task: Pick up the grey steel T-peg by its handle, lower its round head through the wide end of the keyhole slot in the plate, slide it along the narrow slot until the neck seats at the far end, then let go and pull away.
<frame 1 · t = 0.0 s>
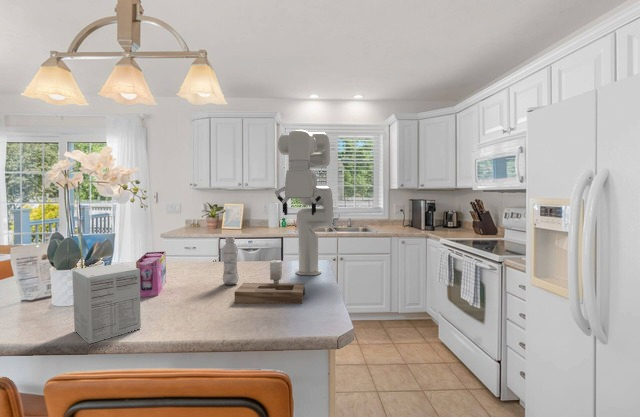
hand: (299, 214, 119), 31 cm above the kitchen island, tool pointing down, fingers open, 9 cm apart
steel peg: (276, 289, 136), on the kitchen island
plastic bottle: (230, 284, 145), on the kitchen island
gum box: (152, 289, 138), on the kitchen island
supplement box: (108, 331, 96), on the kitchen island
keyhole plate: (271, 298, 125), on the kitchen island
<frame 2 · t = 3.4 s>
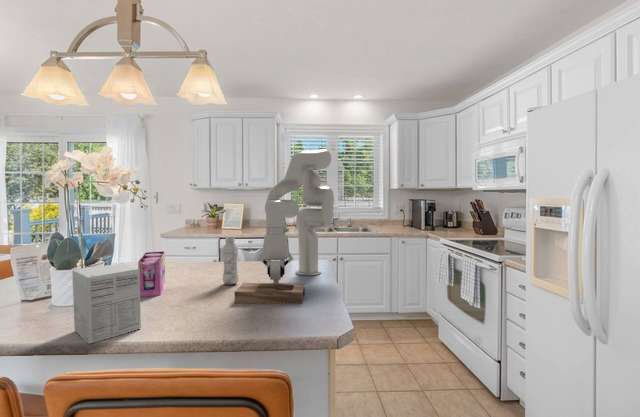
hand: (276, 276, 136), 6 cm above the kitchen island, tool pointing down, fingers closed on steel peg, 4 cm apart
steel peg: (276, 289, 136), on the kitchen island, touching gripper
everything else where it was.
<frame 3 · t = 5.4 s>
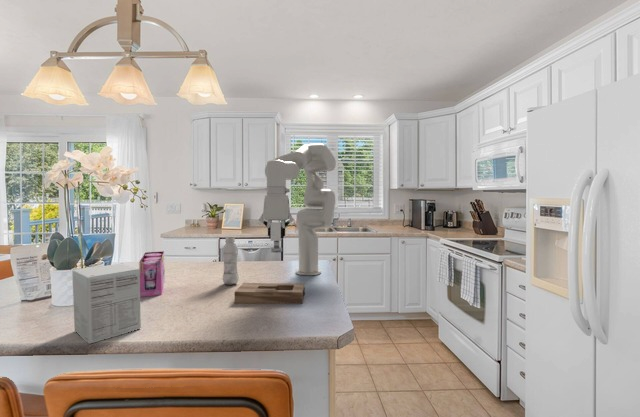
hand: (276, 237, 134), 21 cm above the kitchen island, tool pointing down, fingers closed on steel peg, 4 cm apart
steel peg: (276, 251, 134), point 16 cm above the kitchen island, touching gripper
everything else where it was.
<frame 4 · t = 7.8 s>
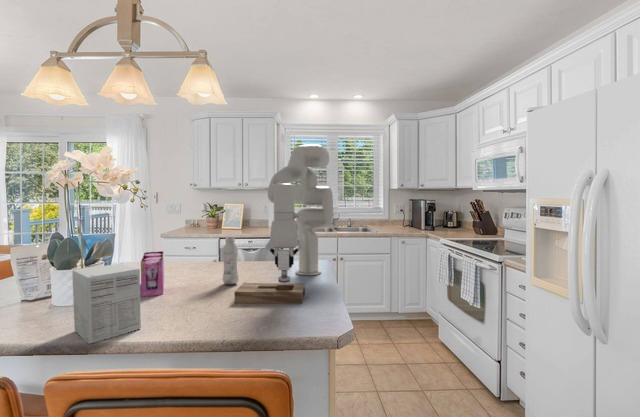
hand: (284, 266, 124), 12 cm above the kitchen island, tool pointing down, fingers closed on steel peg, 4 cm apart
steel peg: (284, 281, 124), point 6 cm above the kitchen island, touching gripper
everything else where it was.
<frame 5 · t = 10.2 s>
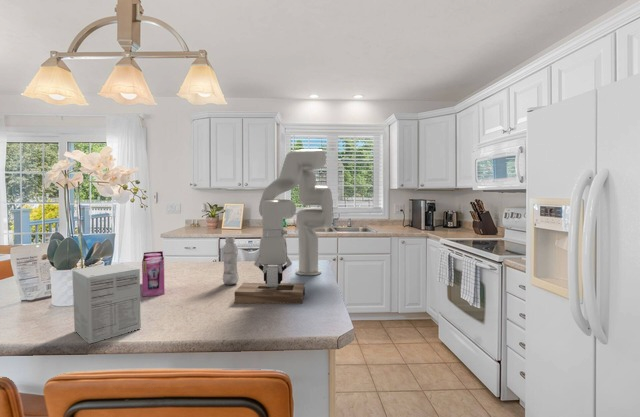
hand: (273, 282, 125), 6 cm above the kitchen island, tool pointing down, fingers closed on steel peg, 4 cm apart
steel peg: (273, 297, 125), on the kitchen island, touching gripper
when the fingers open (6 cm above the kitchen island, at t = 12.2 s): steel peg stays where it is, on the kitchen island.
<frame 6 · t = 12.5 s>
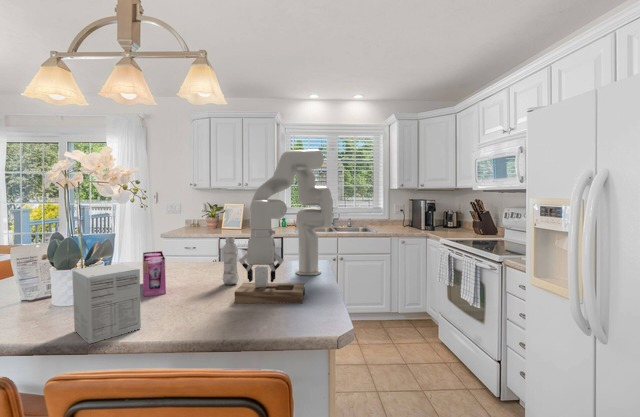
hand: (261, 280, 125), 6 cm above the kitchen island, tool pointing down, fingers open, 7 cm apart
steel peg: (261, 298, 125), on the kitchen island
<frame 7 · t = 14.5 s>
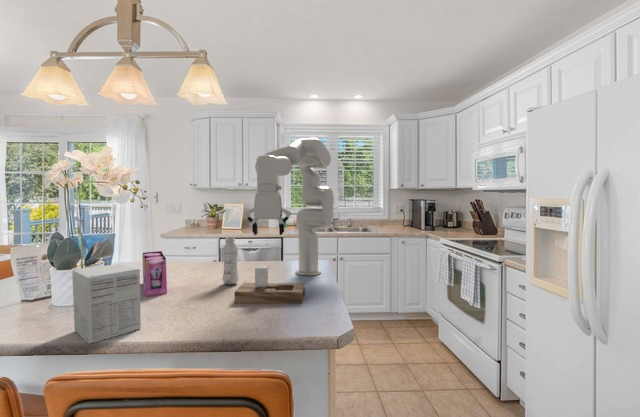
hand: (268, 234, 127), 23 cm above the kitchen island, tool pointing down, fingers open, 9 cm apart
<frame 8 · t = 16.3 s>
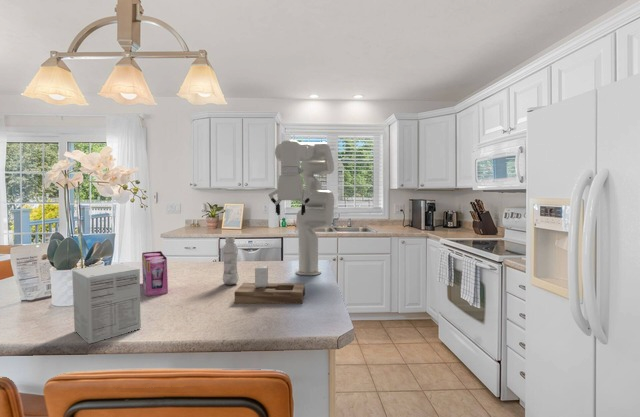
hand: (290, 214, 135), 30 cm above the kitchen island, tool pointing down, fingers open, 9 cm apart
at the end: steel peg 0.2 cm from the target spot on the keyhole plate, point 0.0 cm above the keyhole plate's base; steel peg tilted 0°; the gripper is holding nothing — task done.
